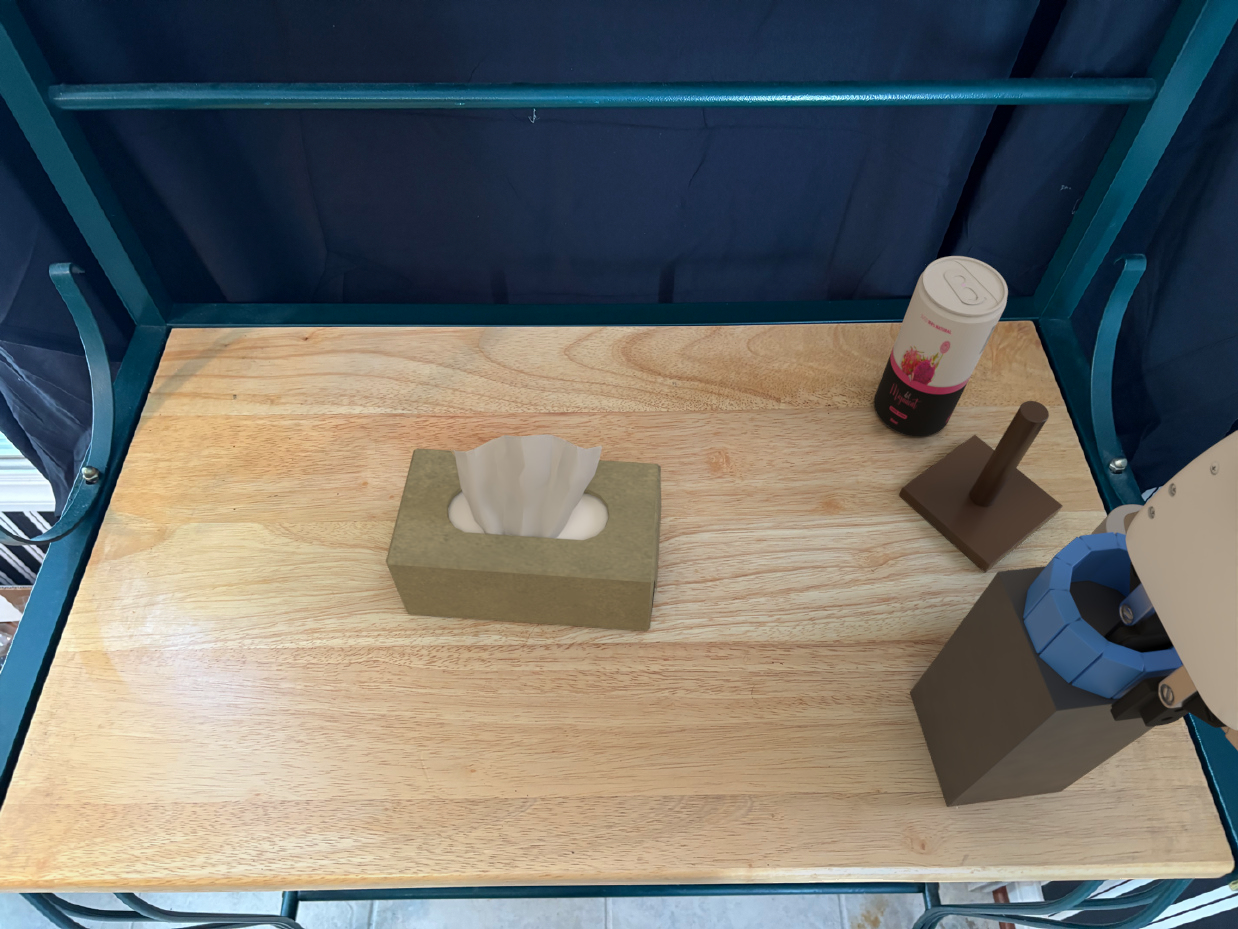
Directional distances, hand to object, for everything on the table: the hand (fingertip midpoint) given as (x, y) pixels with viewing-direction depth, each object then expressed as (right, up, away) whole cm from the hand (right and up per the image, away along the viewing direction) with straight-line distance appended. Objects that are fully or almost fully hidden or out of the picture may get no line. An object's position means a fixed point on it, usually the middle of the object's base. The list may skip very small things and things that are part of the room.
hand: (1128, 685), depth 46 cm
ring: (0, +2, +2) cm, 3 cm away
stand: (+3, +8, +28) cm, 29 cm away
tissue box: (-32, +3, +25) cm, 41 cm away
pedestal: (-1, -8, +17) cm, 19 cm away
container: (+6, -2, +21) cm, 22 cm away
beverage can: (0, +16, +34) cm, 37 cm away
